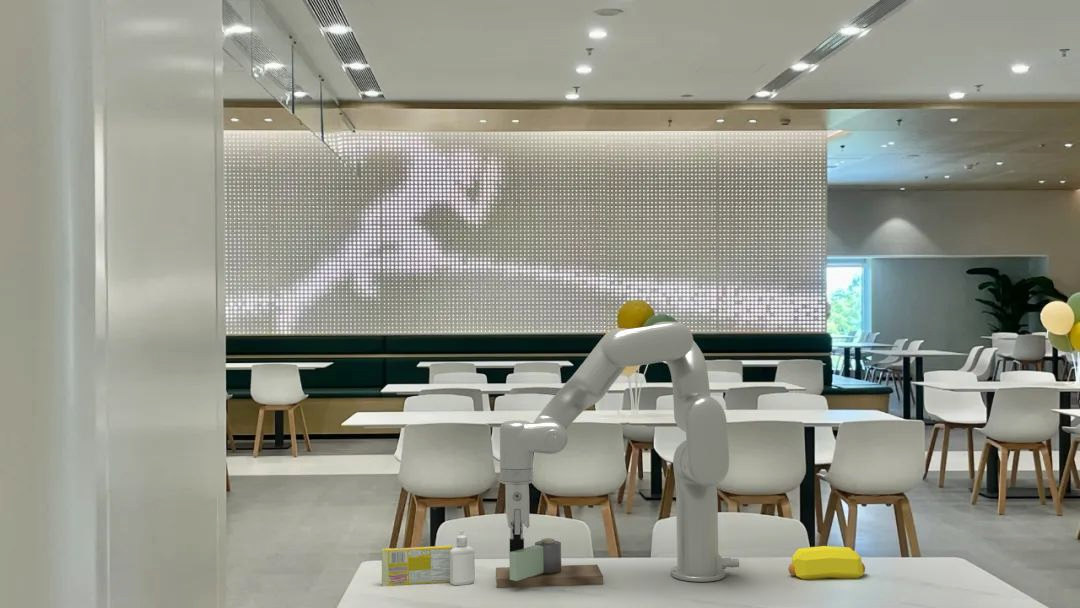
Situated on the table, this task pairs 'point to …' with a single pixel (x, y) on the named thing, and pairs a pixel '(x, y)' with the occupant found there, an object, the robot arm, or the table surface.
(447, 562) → the candy box
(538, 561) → the grey and green piece
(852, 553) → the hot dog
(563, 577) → the post base
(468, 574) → the eye dropper bottle
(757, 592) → the table surface
